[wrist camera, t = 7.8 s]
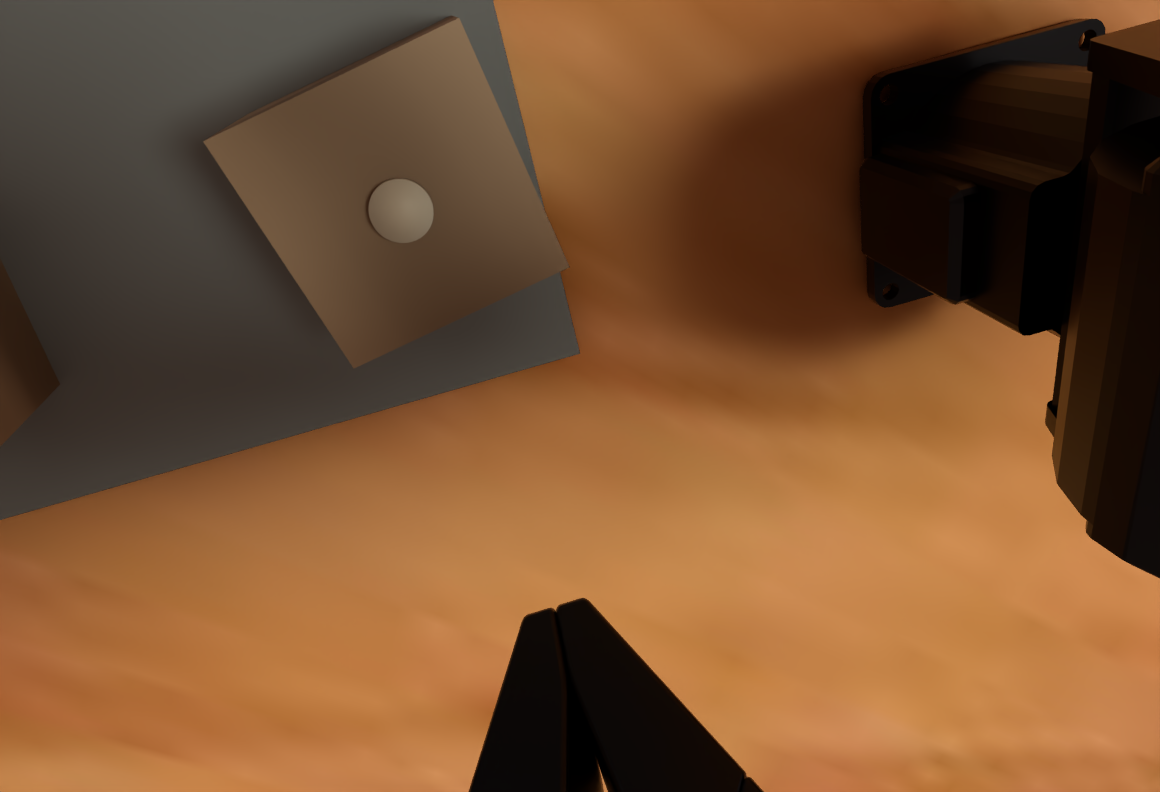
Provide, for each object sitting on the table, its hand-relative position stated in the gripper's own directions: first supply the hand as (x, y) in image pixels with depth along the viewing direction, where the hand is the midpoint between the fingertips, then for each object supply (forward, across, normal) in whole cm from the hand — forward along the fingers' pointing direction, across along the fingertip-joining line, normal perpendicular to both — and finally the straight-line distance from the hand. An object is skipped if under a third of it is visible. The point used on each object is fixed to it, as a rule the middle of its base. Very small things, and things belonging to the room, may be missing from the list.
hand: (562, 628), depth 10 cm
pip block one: (+12, +1, -4) cm, 12 cm away
